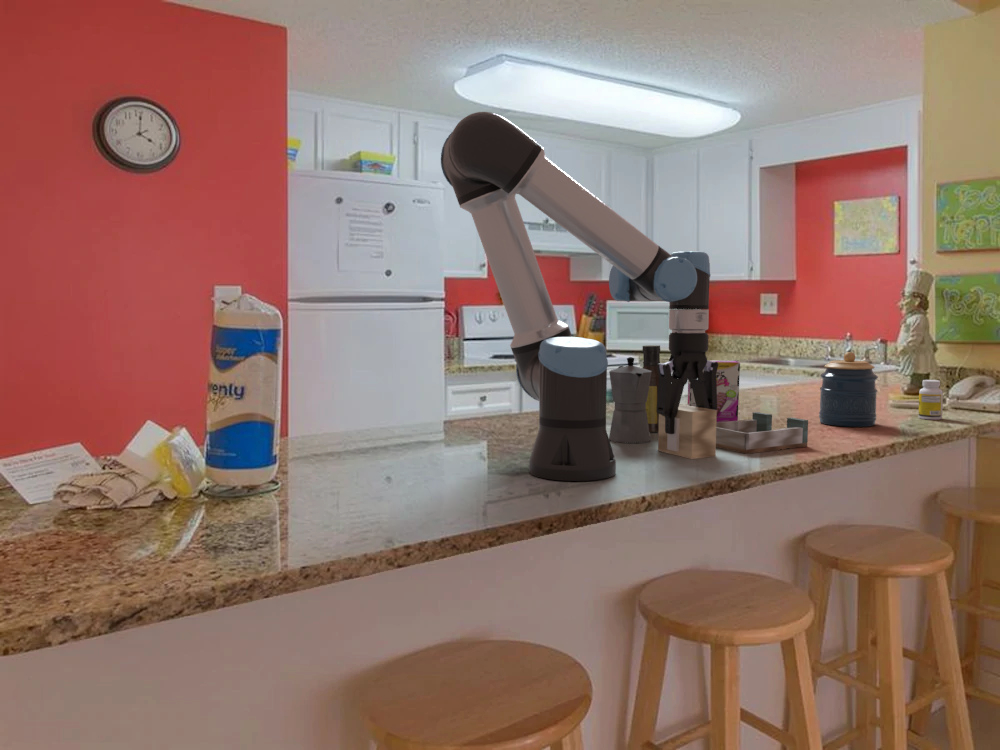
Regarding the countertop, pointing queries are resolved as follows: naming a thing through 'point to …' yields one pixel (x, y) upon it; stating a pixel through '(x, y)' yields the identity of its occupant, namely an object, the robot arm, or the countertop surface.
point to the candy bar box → (724, 390)
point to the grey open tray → (761, 434)
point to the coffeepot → (630, 404)
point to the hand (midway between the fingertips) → (686, 448)
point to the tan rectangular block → (692, 432)
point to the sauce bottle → (652, 384)
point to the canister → (848, 393)
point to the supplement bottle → (930, 400)
